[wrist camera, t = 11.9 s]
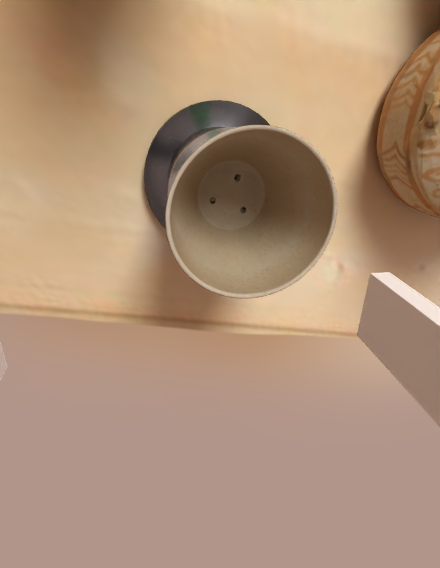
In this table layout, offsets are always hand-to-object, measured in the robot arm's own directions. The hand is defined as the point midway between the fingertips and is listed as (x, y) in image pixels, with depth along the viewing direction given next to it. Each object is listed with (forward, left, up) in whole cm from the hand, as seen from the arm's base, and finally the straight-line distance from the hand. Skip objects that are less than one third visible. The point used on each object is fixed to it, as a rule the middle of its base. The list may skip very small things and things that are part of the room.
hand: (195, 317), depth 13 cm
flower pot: (+3, +3, -16) cm, 16 cm away
